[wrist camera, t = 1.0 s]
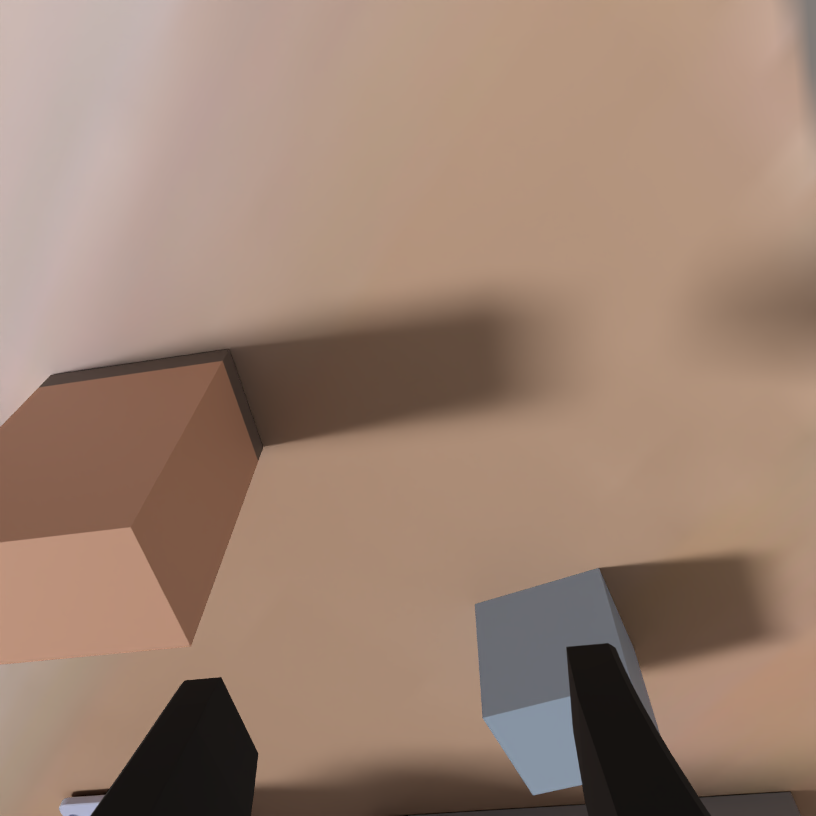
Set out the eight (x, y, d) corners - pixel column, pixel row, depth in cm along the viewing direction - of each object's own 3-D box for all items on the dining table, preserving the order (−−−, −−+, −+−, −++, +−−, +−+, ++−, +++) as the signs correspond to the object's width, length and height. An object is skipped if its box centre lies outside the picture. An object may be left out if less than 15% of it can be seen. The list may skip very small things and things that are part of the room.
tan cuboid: (263, 447, 21) (190, 646, 15) (98, 468, 22) (-39, 668, 15) (229, 349, 19) (130, 527, 13) (50, 374, 20) (-126, 557, 14)
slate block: (633, 647, 26) (669, 765, 22) (518, 678, 27) (532, 795, 23) (598, 566, 23) (631, 680, 20) (474, 602, 24) (482, 717, 21)
